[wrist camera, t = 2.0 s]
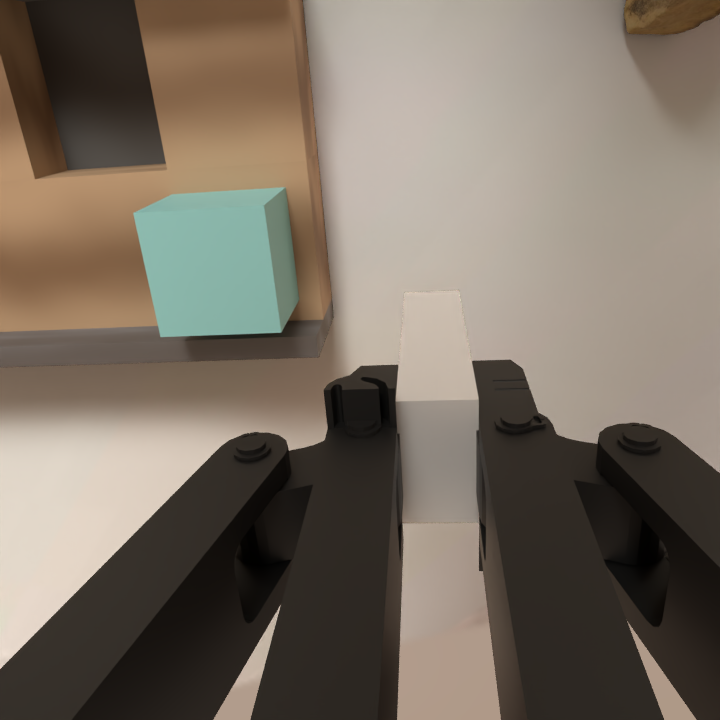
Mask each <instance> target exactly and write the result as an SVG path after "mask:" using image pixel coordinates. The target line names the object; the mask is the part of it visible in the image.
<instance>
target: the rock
mask: <svg viewBox="0 0 720 720" xmlns="http://www.w3.org/2000/svg"><path fill="white" fill-rule="evenodd" d="M719 14H720V0H626V4H625V8H624V17H625V21H626V28H627V32H628V33H629V34H660V35H667V34H677V33H681V32H685V31H687V30H690V29H693V28H695V27H697V26H699V25H700V24H701V23H702V22H704V21H707V20H710V19H712V18H714V17H715V16H717V15H719Z"/></svg>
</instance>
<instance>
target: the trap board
mask: <svg viewBox="0 0 720 720" xmlns="http://www.w3.org/2000/svg"><path fill="white" fill-rule="evenodd" d="M280 187H286V194H287V202H288V210H289V219H290V227H291V235H292V244H293V252H294V260H295V269H296V277H297V285H298V294H299V301H298V303H297V305H296V307H295V308H294V310H293V312H292V314H291V316H290V318H289V319H288V321H287V323H286V325H285V327H284V329H283V330H282V332H281V333H259V334H231V335H204V336H176V337H160V333H159V328H158V324H157V319H156V314H155V310H154V305H153V301H152V296H151V292H150V287H149V283H148V278H147V274H146V269H145V265H144V260H143V255H142V251H141V246H140V242H139V237H138V233H137V228H136V224H135V219H134V215H133V213H134V212H136V211H138V210H141V209H143V208H145V207H147V206H149V205H151V204H153V203H155V202H157V201H159V200H161V199H163V198H165V197H167V196H170V195H172V194H185V193H201V192H217V191H233V190H249V189H265V188H280ZM332 320H333V306H332V296H331V286H330V276H329V265H328V255H327V245H326V235H325V224H324V214H323V204H322V194H321V184H320V173H319V163H318V153H317V143H316V132H315V122H314V112H313V102H312V91H311V81H310V71H309V61H308V51H307V40H306V30H305V20H304V10H303V0H0V367H26V366H58V365H90V364H121V363H153V362H185V361H216V360H248V359H280V358H312V357H319V355H320V353H321V350H322V347H323V344H324V342H325V339H326V336H327V334H328V331H329V328H330V325H331V323H332Z"/></svg>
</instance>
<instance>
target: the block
mask: <svg viewBox="0 0 720 720" xmlns="http://www.w3.org/2000/svg"><path fill="white" fill-rule="evenodd" d="M133 215H134V219H135V224H136V228H137V233H138V237H139V242H140V246H141V251H142V255H143V260H144V265H145V269H146V274H147V278H148V283H149V287H150V292H151V296H152V301H153V305H154V310H155V314H156V319H157V324H158V328H159V333H160V337H176V336H204V335H231V334H259V333H281V332H282V330H283V329H284V327H285V325H286V323H287V321H288V319H289V318H290V316H291V314H292V312H293V310H294V308H295V307H296V305H297V303H298V301H299V294H298V285H297V277H296V269H295V260H294V252H293V244H292V235H291V227H290V219H289V210H288V202H287V194H286V187H280V188H265V189H249V190H233V191H217V192H201V193H185V194H172V195H170V196H167V197H165V198H163V199H161V200H159V201H157V202H155V203H153V204H151V205H149V206H147V207H145V208H143V209H141V210H138V211H136V212H134V213H133Z"/></svg>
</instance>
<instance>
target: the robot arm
mask: <svg viewBox="0 0 720 720" xmlns="http://www.w3.org/2000/svg"><path fill="white" fill-rule="evenodd" d="M324 397H325V407H326V416H327V425H328V430H327V434H326V438H325V440H324V441H323V442H320V443H318V444H315V445H313V446H309V447H305V448H301V449H296V450H291V451H289V450H288V445H287V442H286V440H285V439H283V438H282V437H280V436H279V435H275V434H271V433H259V432H254V433H250V434H249V433H247V434H243V435H241V436H239V437H236V438H234V439H231V440H229V441H228V442H227V443H225V444H224V445H222V446H221V447H220V448H219V449H218V450H217V451H216V452H215V453H214V454H213V455H212V456H211V457H210V458H209V459H208V460H207V461H206V462H205V463H204V464H203V465H202V466H201V467H200V468H199V469H198V470H197V471H196V472H195V473H194V474H193V475H192V476H191V477H190V478H189V479H188V480H187V481H186V482H185V483H184V484H183V485H182V486H181V487H180V488H179V489H178V490H177V491H176V492H175V493H174V494H173V495H172V496H171V497H170V498H169V499H168V500H167V501H166V502H165V503H164V504H163V505H162V506H161V507H160V508H159V509H158V510H157V511H156V512H155V513H154V514H153V515H152V517H151V518H150V519H149V520H148V521H147V522H146V523H145V524H144V525H143V526H142V527H141V528H140V529H139V530H138V531H137V532H136V533H135V534H134V535H133V536H132V537H131V538H130V539H129V540H128V541H127V542H126V543H125V544H124V545H123V546H122V547H121V548H120V549H119V550H118V551H117V552H116V553H115V554H114V555H113V556H112V557H111V558H110V559H109V560H108V561H107V562H106V563H105V564H104V565H103V566H102V567H101V568H100V569H99V570H98V571H97V572H96V573H95V574H94V575H93V576H92V577H91V578H90V579H89V580H88V581H87V582H86V583H85V584H84V585H83V586H82V587H81V588H80V589H79V590H78V591H77V592H76V593H75V594H74V595H73V596H72V597H71V598H70V599H69V600H68V601H67V602H66V603H65V604H64V605H63V606H62V607H61V608H60V609H59V610H58V611H57V612H56V613H55V614H54V615H53V616H52V617H51V618H50V619H49V620H48V621H47V622H46V623H45V625H44V626H43V627H42V628H41V629H40V630H39V631H38V632H37V633H36V634H35V635H34V636H33V637H32V638H31V639H30V640H29V641H28V642H27V643H26V644H25V645H24V646H23V647H22V648H21V649H20V650H19V651H18V652H17V653H16V654H15V655H14V656H13V657H12V658H11V659H10V660H9V661H8V662H7V663H6V664H5V665H4V666H3V667H2V668H1V669H0V720H213V719H214V717H215V715H216V714H217V712H218V710H219V709H220V707H221V705H222V704H223V702H224V700H225V698H226V697H227V695H228V693H229V692H230V690H231V688H232V686H233V685H234V683H235V681H236V680H237V678H238V676H239V675H240V673H241V671H242V669H243V668H244V666H245V664H246V663H247V661H248V659H249V657H250V656H251V654H252V652H253V651H254V649H255V647H256V646H257V644H258V642H259V640H260V639H261V637H262V635H263V634H264V632H265V630H266V629H267V627H268V625H269V623H270V622H271V620H272V618H273V617H274V615H275V613H276V611H277V610H278V608H279V606H280V605H281V607H280V611H279V615H278V618H277V622H276V626H275V630H274V633H273V637H272V641H271V645H270V648H269V652H268V656H267V660H266V663H265V667H264V671H263V675H262V678H261V682H260V686H259V690H258V693H257V697H256V701H255V705H254V708H253V712H252V716H251V720H397V704H398V675H399V674H398V673H399V648H400V620H401V592H402V565H403V524H402V523H479V571H483V574H484V582H485V591H486V599H487V607H488V615H489V623H490V632H491V639H492V648H493V656H494V664H495V671H496V672H495V673H496V680H497V689H498V696H499V705H500V714H501V720H664V718H663V715H662V713H661V710H660V708H659V705H658V702H657V699H656V697H655V694H654V692H653V689H652V686H651V684H650V681H649V678H648V676H647V673H646V670H645V668H644V665H643V663H642V660H641V657H640V654H639V652H638V649H637V647H636V644H635V641H634V639H633V636H632V633H631V631H630V628H629V626H628V623H627V621H628V622H629V624H630V625H631V627H632V628H633V630H634V631H635V632H636V634H637V635H638V637H639V638H640V639H641V641H642V642H643V644H644V645H645V647H646V648H647V650H648V651H649V652H650V654H651V655H652V657H653V658H654V659H655V661H656V662H657V664H658V665H659V667H660V668H661V669H662V671H663V672H664V674H665V675H666V677H667V678H668V679H669V681H670V682H671V684H672V685H673V687H674V688H675V689H676V691H677V692H678V694H679V695H680V697H681V698H682V699H683V701H684V702H685V704H686V705H687V706H688V708H689V709H690V711H691V712H692V714H693V715H694V716H695V718H696V719H697V720H720V473H719V472H717V471H716V470H715V469H714V468H712V467H711V466H710V465H709V464H708V463H706V462H705V461H704V460H703V459H701V458H700V457H699V456H698V455H697V454H695V453H694V452H693V451H692V450H690V449H689V448H688V447H687V446H686V445H684V444H683V443H682V442H681V441H679V440H678V439H677V438H676V437H674V436H673V435H671V434H669V433H668V432H666V431H664V430H661V429H658V428H655V427H652V426H650V425H647V424H639V423H629V424H617V425H613V426H610V427H607V428H605V429H604V430H603V431H601V432H600V434H599V438H598V444H593V443H587V442H580V441H576V440H571V439H567V438H564V437H561V436H559V435H557V434H556V432H555V430H554V427H553V424H552V423H551V422H550V420H549V419H548V418H547V417H545V416H544V415H542V414H540V413H538V411H537V408H536V405H535V402H534V399H533V397H532V394H531V391H530V390H529V385H528V382H527V381H526V377H525V374H524V371H523V369H522V368H521V367H520V366H518V365H517V364H515V363H514V362H513V361H511V360H487V361H472V359H471V354H470V348H469V343H468V337H467V331H466V326H465V320H464V315H463V309H462V304H461V298H460V293H459V290H448V291H425V292H404V304H403V316H402V328H401V341H400V353H399V365H377V366H360V367H359V368H358V369H357V370H356V371H354V372H353V373H352V374H351V375H350V376H346V377H343V378H339V379H336V380H335V381H333V382H331V383H329V384H328V385H327V387H326V388H325V389H324Z"/></svg>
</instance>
